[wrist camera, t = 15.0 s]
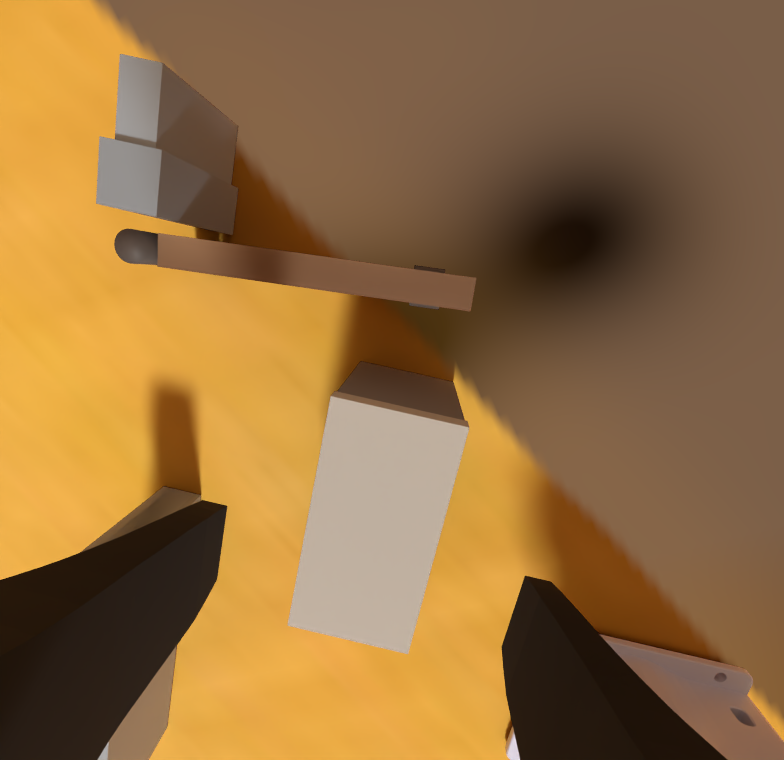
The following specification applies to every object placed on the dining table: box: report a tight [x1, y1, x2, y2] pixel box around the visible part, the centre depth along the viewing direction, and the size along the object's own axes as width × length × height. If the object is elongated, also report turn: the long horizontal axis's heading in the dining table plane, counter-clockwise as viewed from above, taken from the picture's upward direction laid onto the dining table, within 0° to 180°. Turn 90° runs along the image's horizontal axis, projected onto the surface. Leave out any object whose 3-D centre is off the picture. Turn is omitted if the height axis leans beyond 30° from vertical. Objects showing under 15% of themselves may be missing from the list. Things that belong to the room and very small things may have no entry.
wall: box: [80, 54, 238, 760], centre depth 18 cm, size 2×30×5 cm, turn 168°
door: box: [115, 229, 476, 311], centre depth 15 cm, size 1×11×5 cm, turn 82°
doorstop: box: [288, 361, 469, 654], centre depth 17 cm, size 4×8×6 cm, turn 168°
